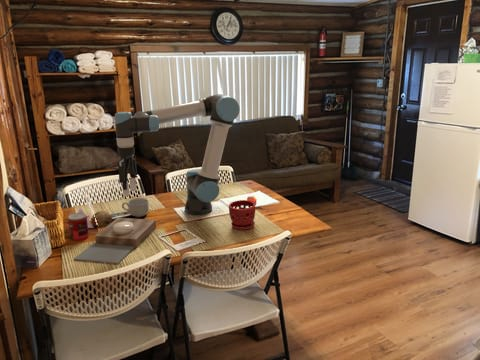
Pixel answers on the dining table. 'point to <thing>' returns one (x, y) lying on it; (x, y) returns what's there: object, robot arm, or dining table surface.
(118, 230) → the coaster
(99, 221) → the coconut
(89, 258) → the mat
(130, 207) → the teacup
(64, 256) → the dining table surface
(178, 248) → the photo frame
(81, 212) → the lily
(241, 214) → the plant pot
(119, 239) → the serving board
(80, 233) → the canned food
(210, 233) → the dining table surface
